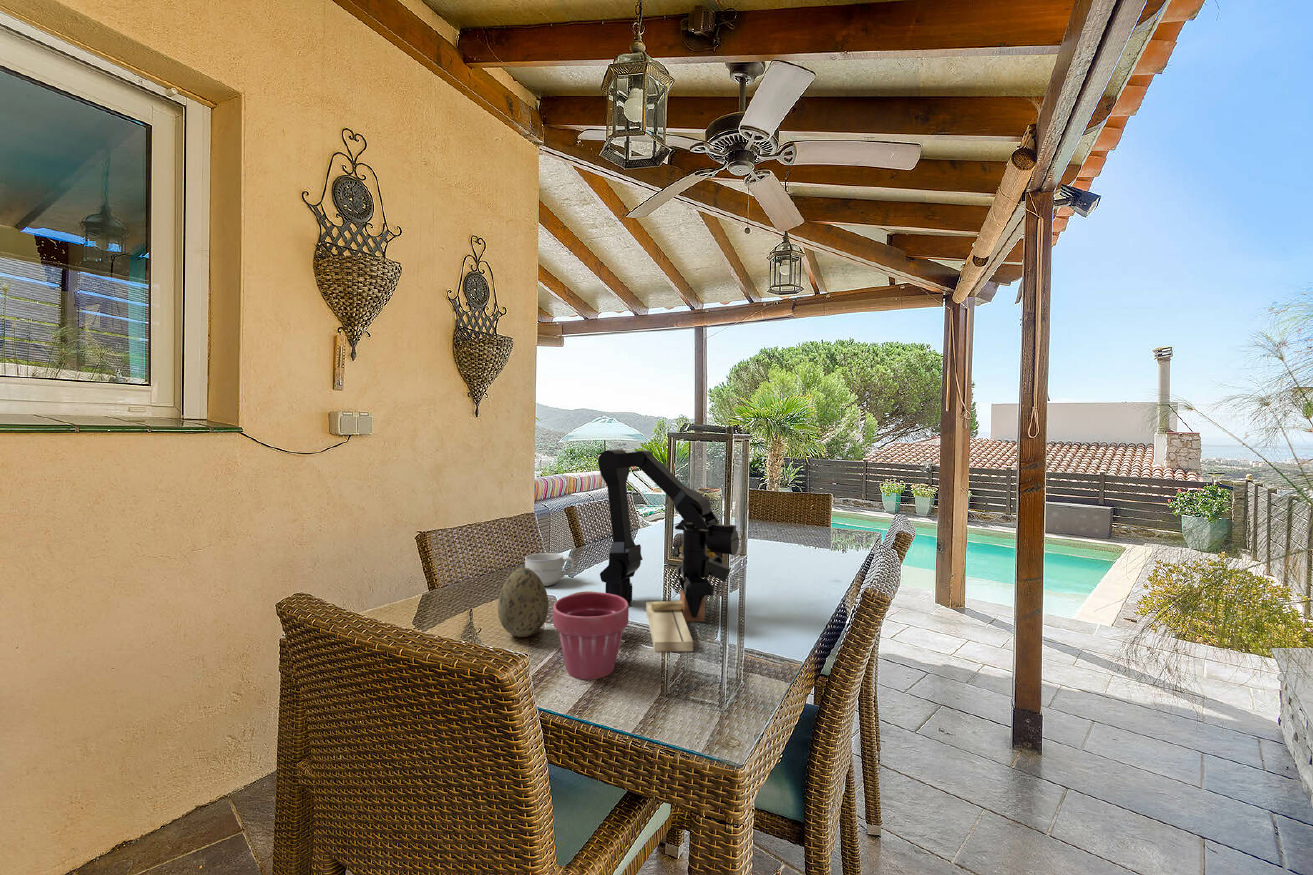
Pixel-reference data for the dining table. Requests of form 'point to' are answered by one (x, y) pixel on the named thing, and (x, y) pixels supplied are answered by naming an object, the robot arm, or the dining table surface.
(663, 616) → the board
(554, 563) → the teacup
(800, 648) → the dining table surface
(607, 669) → the plant pot
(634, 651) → the dining table surface
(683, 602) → the wooden mallet
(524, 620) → the decorative egg
